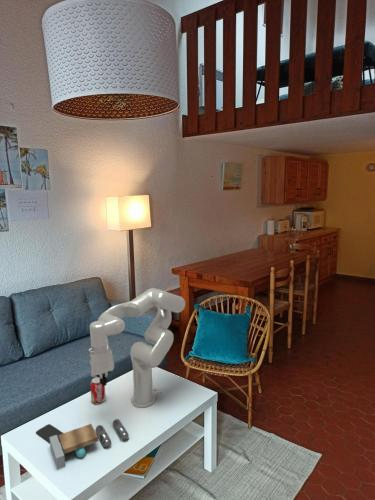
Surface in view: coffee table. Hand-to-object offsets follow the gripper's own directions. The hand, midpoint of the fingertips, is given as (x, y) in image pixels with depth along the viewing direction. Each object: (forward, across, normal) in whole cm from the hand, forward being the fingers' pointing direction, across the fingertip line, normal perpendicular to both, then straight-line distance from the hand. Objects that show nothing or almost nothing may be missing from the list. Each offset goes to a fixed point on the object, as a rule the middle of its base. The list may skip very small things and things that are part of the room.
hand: (103, 384), depth 167 cm
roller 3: (+20, +2, -11) cm, 23 cm away
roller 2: (+19, -6, -11) cm, 23 cm away
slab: (+15, -16, -10) cm, 24 cm away
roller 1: (+19, -17, -10) cm, 27 cm away
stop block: (+18, -25, -10) cm, 33 cm away
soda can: (+20, +2, +18) cm, 27 cm away
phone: (+19, -24, +5) cm, 31 cm away
